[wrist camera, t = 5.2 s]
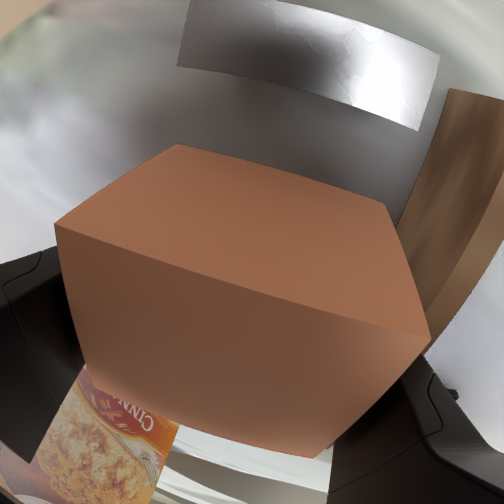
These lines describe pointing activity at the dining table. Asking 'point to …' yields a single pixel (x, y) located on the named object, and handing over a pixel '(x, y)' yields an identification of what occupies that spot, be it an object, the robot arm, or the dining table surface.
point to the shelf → (456, 207)
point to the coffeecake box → (92, 452)
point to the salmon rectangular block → (240, 298)
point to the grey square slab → (311, 55)
